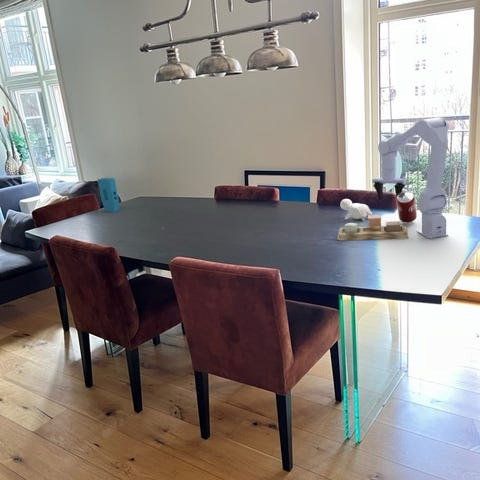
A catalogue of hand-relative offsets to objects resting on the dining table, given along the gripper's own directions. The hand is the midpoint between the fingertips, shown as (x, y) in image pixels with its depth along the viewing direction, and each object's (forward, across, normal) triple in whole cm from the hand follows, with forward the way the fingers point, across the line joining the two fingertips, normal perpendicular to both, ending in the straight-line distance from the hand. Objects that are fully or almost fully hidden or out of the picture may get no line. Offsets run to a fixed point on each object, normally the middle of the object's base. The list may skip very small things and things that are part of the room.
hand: (389, 199), depth 203 cm
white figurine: (+10, +17, 0) cm, 19 cm away
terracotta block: (+10, +2, +11) cm, 15 cm away
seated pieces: (+10, -2, +21) cm, 23 cm away
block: (+10, +167, +30) cm, 170 cm away
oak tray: (+10, -2, +21) cm, 23 cm away
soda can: (+8, -7, -2) cm, 11 cm away
